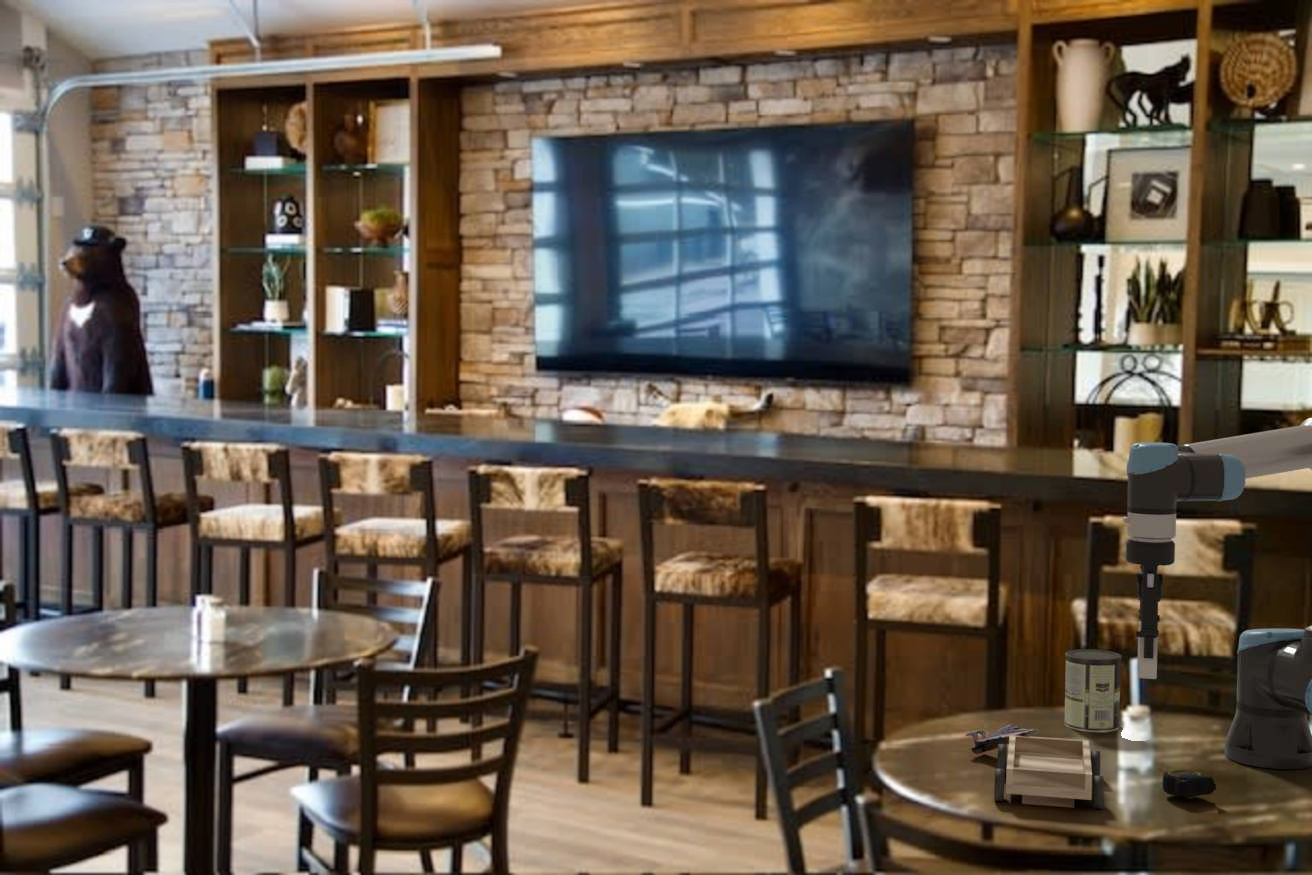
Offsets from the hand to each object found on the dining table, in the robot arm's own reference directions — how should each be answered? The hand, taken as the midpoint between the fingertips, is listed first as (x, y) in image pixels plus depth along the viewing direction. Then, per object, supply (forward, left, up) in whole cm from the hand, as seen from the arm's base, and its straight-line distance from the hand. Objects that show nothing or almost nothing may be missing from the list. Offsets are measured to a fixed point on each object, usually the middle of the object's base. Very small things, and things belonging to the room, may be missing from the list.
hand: (1146, 669), depth 262 cm
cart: (+15, +2, -20) cm, 25 cm away
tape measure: (-7, +4, -20) cm, 22 cm away
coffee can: (+7, -44, -21) cm, 49 cm away
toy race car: (+24, -16, -21) cm, 36 cm away
